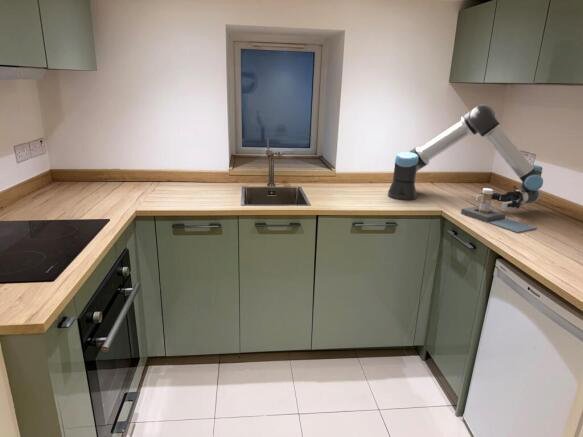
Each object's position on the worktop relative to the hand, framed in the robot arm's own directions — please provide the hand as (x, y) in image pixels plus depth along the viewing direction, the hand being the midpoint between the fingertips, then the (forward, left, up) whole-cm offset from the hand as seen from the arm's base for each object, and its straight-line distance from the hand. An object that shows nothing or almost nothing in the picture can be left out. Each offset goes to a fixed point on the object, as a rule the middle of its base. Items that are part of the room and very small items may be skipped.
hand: (489, 201), depth 194 cm
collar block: (-1, -2, -7) cm, 8 cm away
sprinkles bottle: (-1, -2, -8) cm, 8 cm away
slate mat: (+14, -2, -7) cm, 16 cm away
